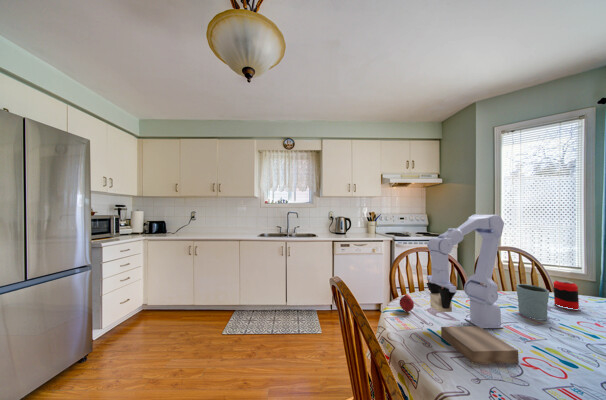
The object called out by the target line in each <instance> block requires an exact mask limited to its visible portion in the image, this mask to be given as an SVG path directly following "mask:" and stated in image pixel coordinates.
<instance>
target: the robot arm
mask: <svg viewBox="0 0 606 400" xmlns="http://www.w3.org/2000/svg"><path fill="white" fill-rule="evenodd" d="M504 226H505V222H504V221H503V219H502V217H501V216H500V215H499V214H477V213H475V214H472V215H471V216H468V218H467V220H466V221H465V222H463V223H462V224H460V225H458V227H456V228H454V227H453V228H452V227H449V228H447V231H445V232H443V233H441V234H439V235H438V236H437V237H432V238H430V239H429V240H428V243H427V244H426V246H427V249H428V251H429V255H430V258H431V259H430V262H431V268H430V269H431V274H429V275H426V281H428V282H426V286H427V287H428V289H429V292H430V293H440V296H441V301H442V307H443V308H444V309H449V307H450V303H451V301H452V300H453V298H454V297H455V295H456V293H457V286H455V285H454V284H453V283H452V282H451V281H450V273H449V271H450V267H449V265H450V263H449V254H450V253H452V250H453V248H454V247H455V246H456V245H458V244H459V243H461V242H462V241H464V236H465V235H468V234H469V233H471V232H473V231H475V233H476V234H478V235H479V236H481V238H482V241H481V245H480V250H479V253H478V259H477V262H476V263H477V264H476V268H475V273H474V274H472V275H470V276H468V277H467V280H466V282H465V283H464V286H463V291H464V294H465V295H467V299H469V316H470V317H464V319H465V320H466V321H468V322H469V323H471V324H473V326H479V327H480V328H482V329H503V328H504V326H503V325H502V316H501V315H502V314H501V313H502V312H501V308H500V306H499V304H498V303H497V301H498V299H499V293H498V290H499V286H498V284H497V283H496V282H495V281H494V280H493V279H492V277H493V274H494V268H495V264H496V259H497V254H498V250H499V245H500V241H501V237H502V235H503V230H504Z"/></svg>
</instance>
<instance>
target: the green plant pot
mask: <svg viewBox="0 0 606 400" xmlns="http://www.w3.org/2000/svg"><path fill="white" fill-rule="evenodd" d="M515 286H516V287H515V288H516V295H517V302H518V313H519V314H520V313H521V314H523V315H525V316H524V317H526V316H528V317H527V318H529V317H531V318H530V319H532V318H535V319H534V320H537V319H546V320H547V319H548V313H549V312H548V307H549V305H548V303H549V296H550V290H548V289H546V288H544V287H541V286H537V285H532V284H525V283H517V284H515ZM521 314H520V315H521ZM523 315H522V316H523Z"/></svg>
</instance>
